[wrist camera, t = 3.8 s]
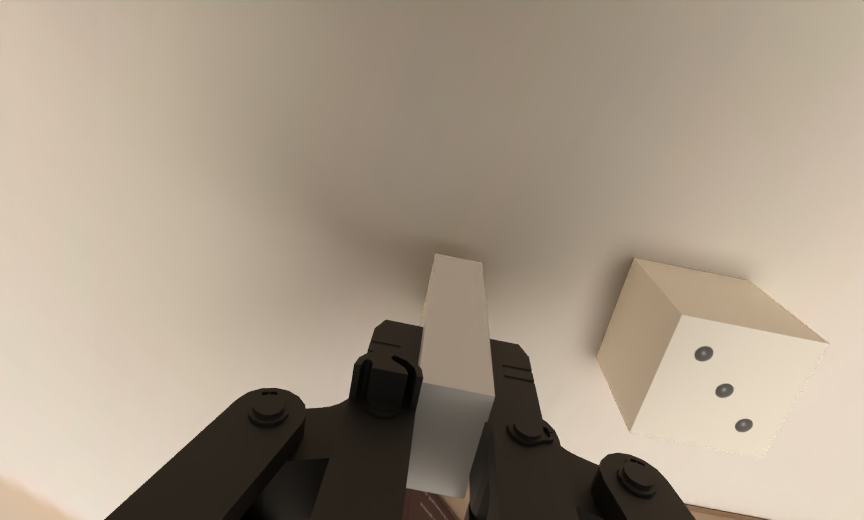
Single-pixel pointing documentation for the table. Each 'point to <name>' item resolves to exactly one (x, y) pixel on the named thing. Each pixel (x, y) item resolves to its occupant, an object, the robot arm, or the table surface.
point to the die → (705, 358)
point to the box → (425, 506)
